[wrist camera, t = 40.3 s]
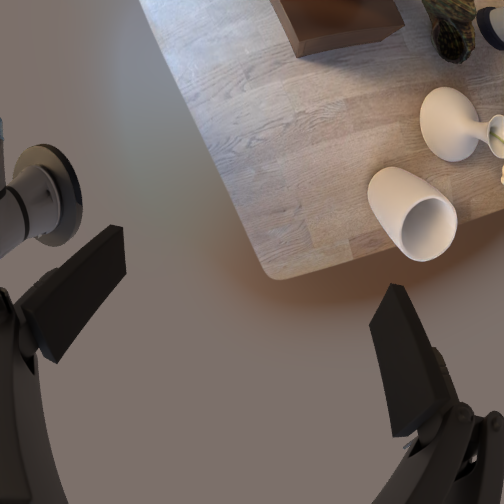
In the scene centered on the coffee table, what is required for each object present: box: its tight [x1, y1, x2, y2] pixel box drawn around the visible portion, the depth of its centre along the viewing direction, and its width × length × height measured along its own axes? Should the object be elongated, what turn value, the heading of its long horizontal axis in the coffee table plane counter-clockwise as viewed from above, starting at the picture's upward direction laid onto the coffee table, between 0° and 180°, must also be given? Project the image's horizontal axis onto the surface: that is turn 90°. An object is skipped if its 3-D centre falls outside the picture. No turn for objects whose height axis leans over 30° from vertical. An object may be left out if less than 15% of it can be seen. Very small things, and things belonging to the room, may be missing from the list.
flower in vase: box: [420, 87, 504, 185], centre depth 20 cm, size 13×11×25 cm
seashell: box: [422, 0, 477, 64], centre depth 18 cm, size 11×11×10 cm
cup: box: [367, 167, 457, 262], centre depth 31 cm, size 8×8×14 cm
